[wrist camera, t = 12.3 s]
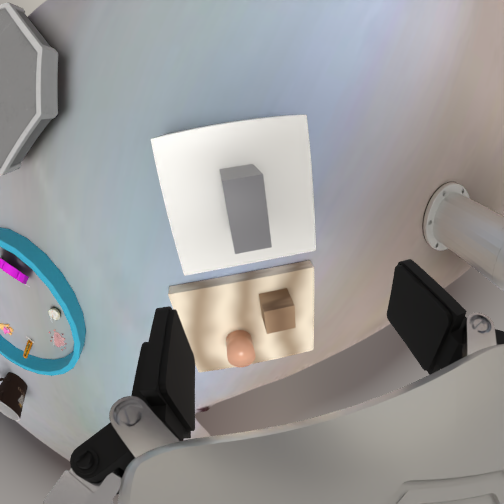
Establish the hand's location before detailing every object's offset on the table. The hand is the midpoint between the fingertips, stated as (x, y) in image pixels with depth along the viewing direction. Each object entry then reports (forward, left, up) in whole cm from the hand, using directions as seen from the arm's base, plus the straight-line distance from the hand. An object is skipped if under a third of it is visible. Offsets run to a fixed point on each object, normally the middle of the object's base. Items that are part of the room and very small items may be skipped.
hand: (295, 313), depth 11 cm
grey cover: (0, 0, -25) cm, 25 cm away
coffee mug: (+61, +33, -25) cm, 74 cm away
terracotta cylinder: (+3, +23, -22) cm, 32 cm away
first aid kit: (+28, -22, -25) cm, 44 cm away
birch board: (+1, +21, -25) cm, 33 cm away
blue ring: (+42, +12, -25) cm, 51 cm away
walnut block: (-3, +17, -23) cm, 29 cm away
